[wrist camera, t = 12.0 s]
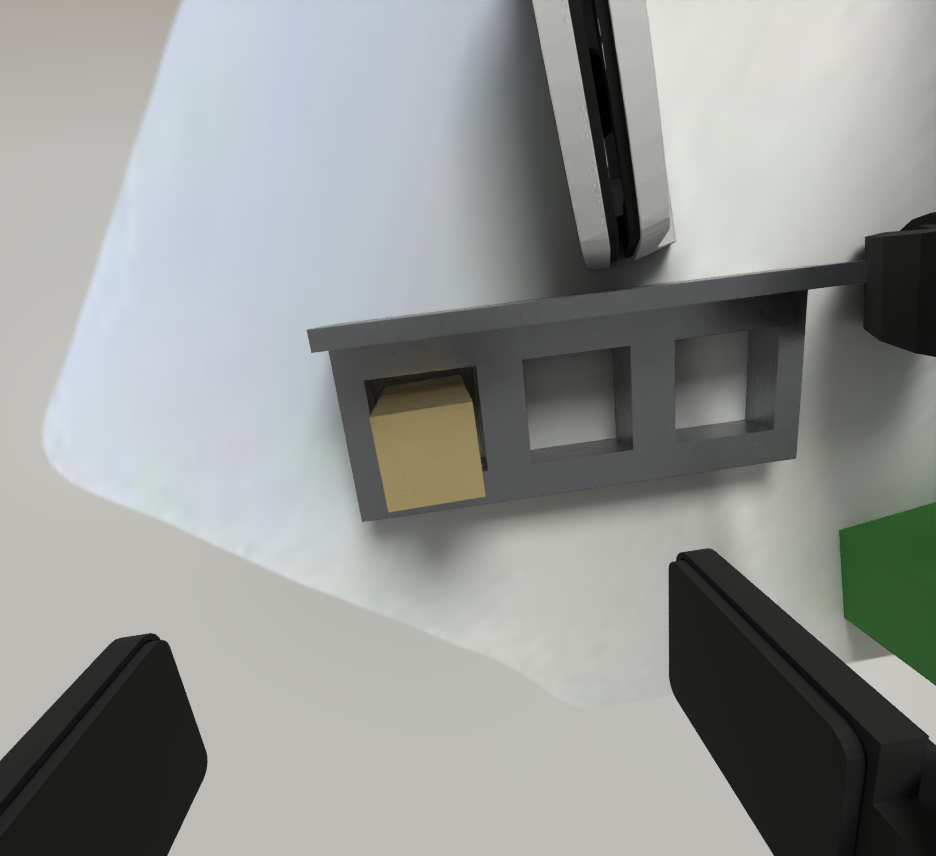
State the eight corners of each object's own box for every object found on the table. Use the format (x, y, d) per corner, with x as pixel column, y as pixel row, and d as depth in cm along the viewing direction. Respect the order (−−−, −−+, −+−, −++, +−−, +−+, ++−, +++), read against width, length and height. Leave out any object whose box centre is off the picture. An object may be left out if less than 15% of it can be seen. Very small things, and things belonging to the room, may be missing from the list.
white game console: (672, 249, 27) (713, 245, 18) (588, 272, 28) (586, 280, 19) (620, -111, 22) (639, -366, 13) (524, -60, 24) (481, -258, 15)
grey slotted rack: (776, 269, 27) (869, 259, 22) (766, 446, 30) (846, 479, 25) (333, 324, 26) (306, 329, 20) (367, 503, 29) (352, 553, 23)
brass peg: (459, 374, 28) (472, 401, 20) (469, 445, 29) (485, 496, 21) (385, 386, 27) (369, 417, 20) (398, 456, 28) (388, 512, 21)
